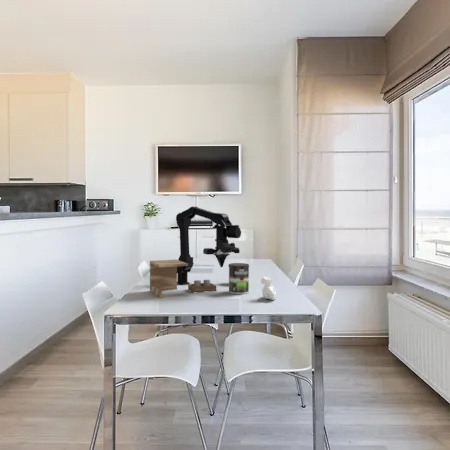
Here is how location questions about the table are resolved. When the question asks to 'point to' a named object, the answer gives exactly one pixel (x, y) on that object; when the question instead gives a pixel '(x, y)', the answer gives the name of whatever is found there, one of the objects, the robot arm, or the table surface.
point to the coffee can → (238, 278)
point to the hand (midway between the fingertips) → (221, 267)
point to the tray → (201, 286)
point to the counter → (164, 275)
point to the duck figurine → (268, 289)
